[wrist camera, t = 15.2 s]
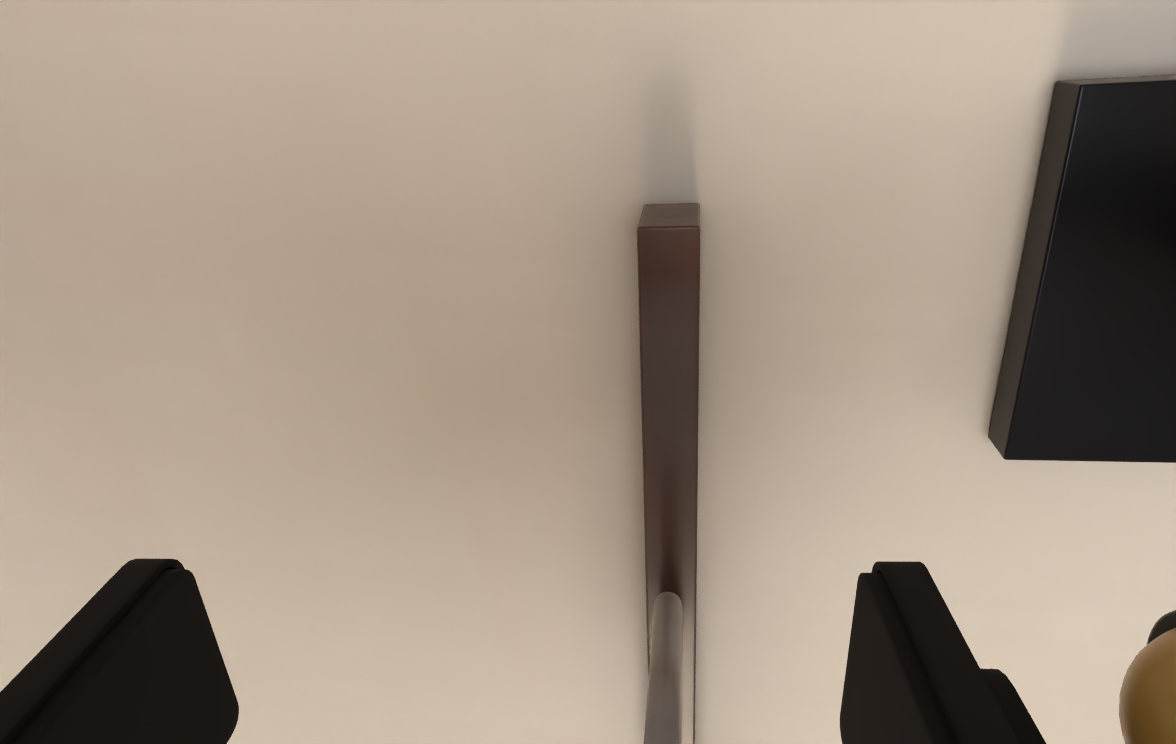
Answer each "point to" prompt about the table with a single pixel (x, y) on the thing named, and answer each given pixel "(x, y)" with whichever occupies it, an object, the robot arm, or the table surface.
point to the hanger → (670, 460)
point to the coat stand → (1102, 319)
